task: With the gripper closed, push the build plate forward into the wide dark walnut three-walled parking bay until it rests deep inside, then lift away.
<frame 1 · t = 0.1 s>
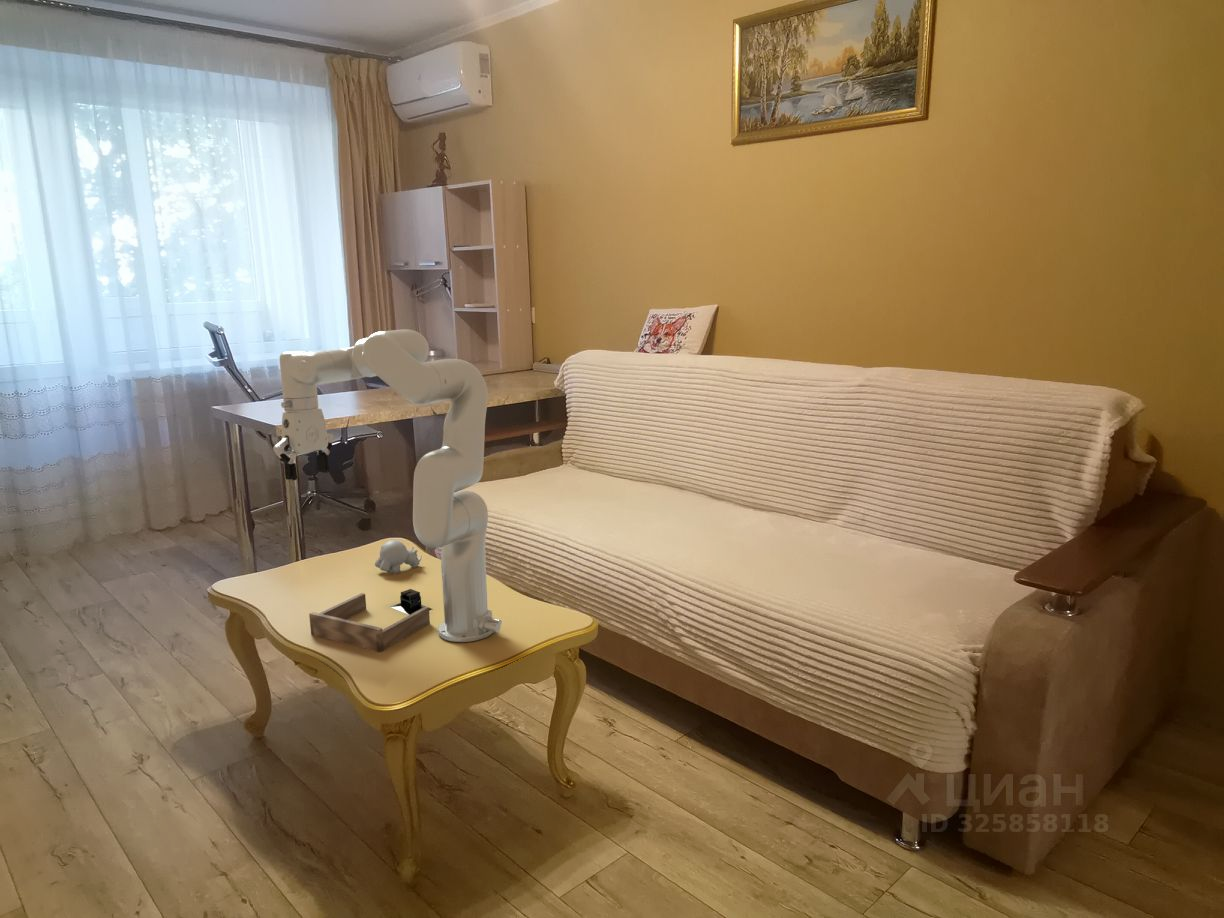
hand: (307, 475, 192), 31 cm above the table, fingers open, 9 cm apart
white animal figurine: (400, 571, 217), on the table
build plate: (411, 610, 192), on the table
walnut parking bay: (372, 628, 180), on the table
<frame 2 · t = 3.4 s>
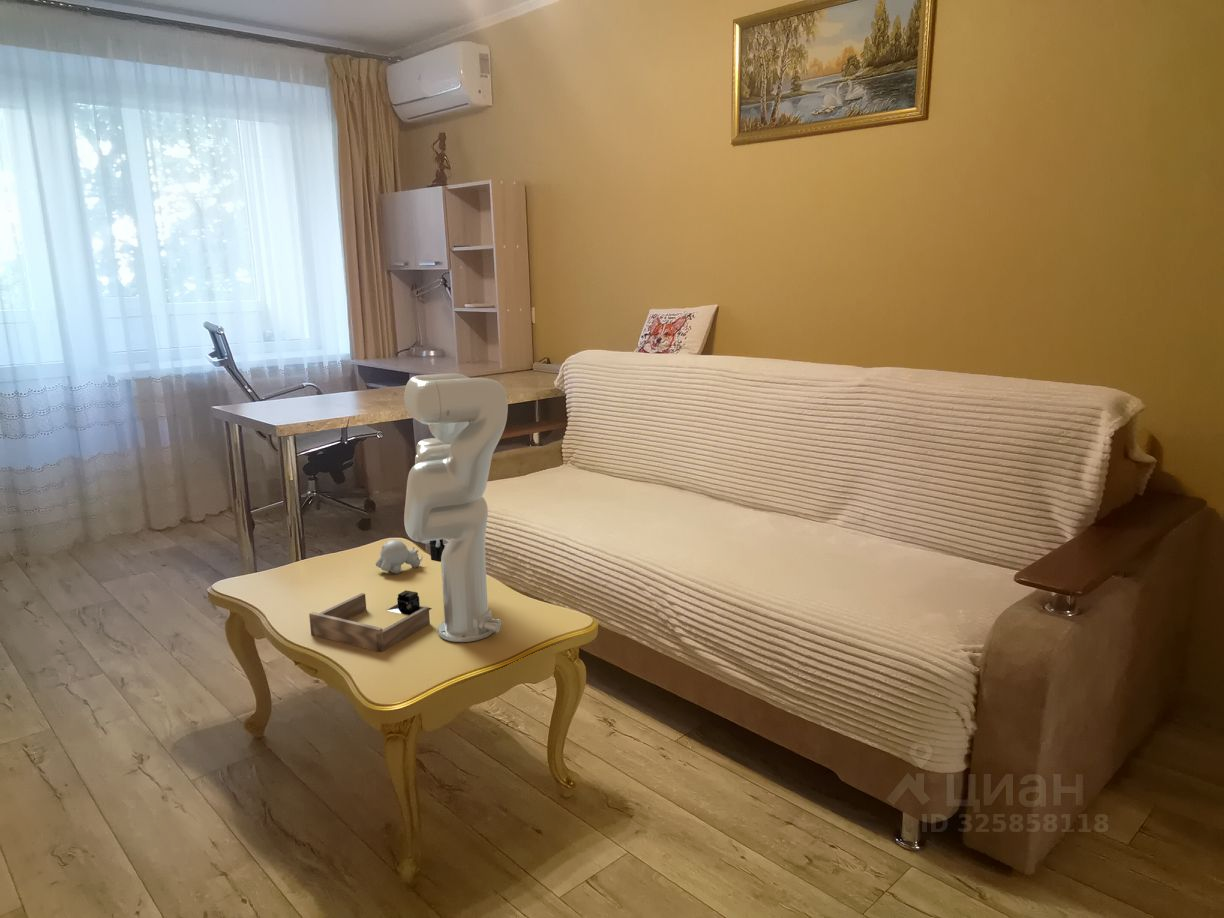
hand: (438, 559, 200), 8 cm above the table, fingers closed
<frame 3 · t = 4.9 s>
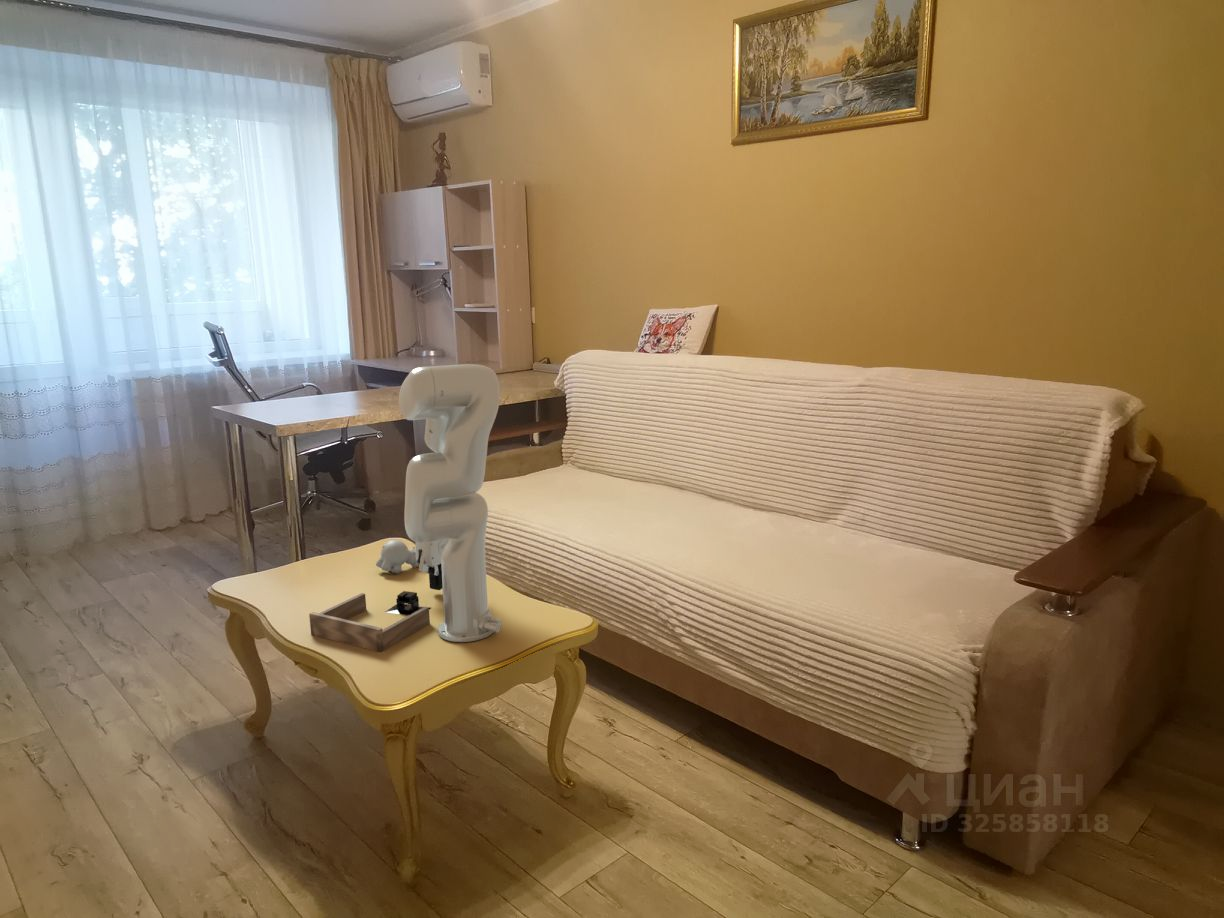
hand: (436, 588, 200), 2 cm above the table, fingers closed
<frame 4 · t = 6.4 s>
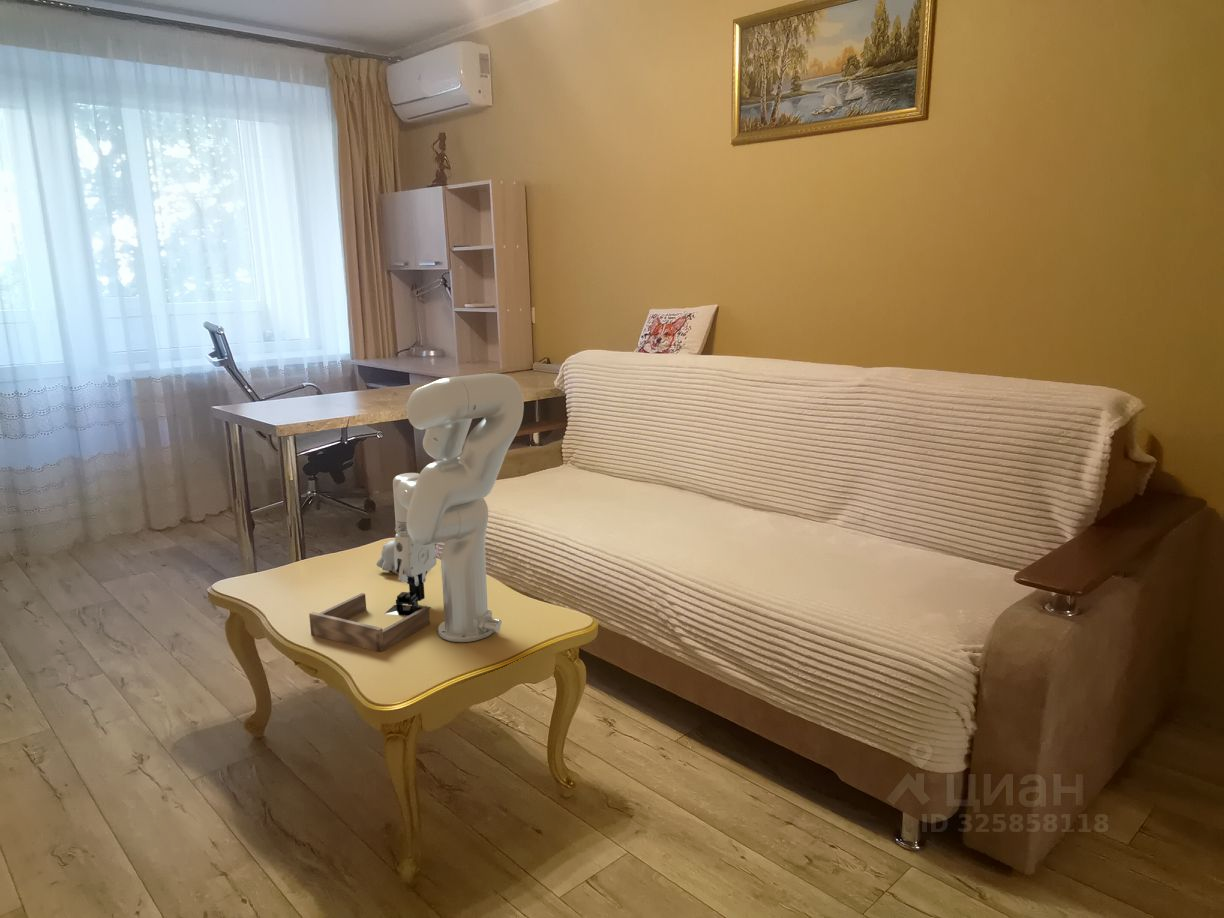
hand: (417, 598, 193), 2 cm above the table, fingers closed
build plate: (407, 613, 190), on the table, touching gripper
everything else where it was.
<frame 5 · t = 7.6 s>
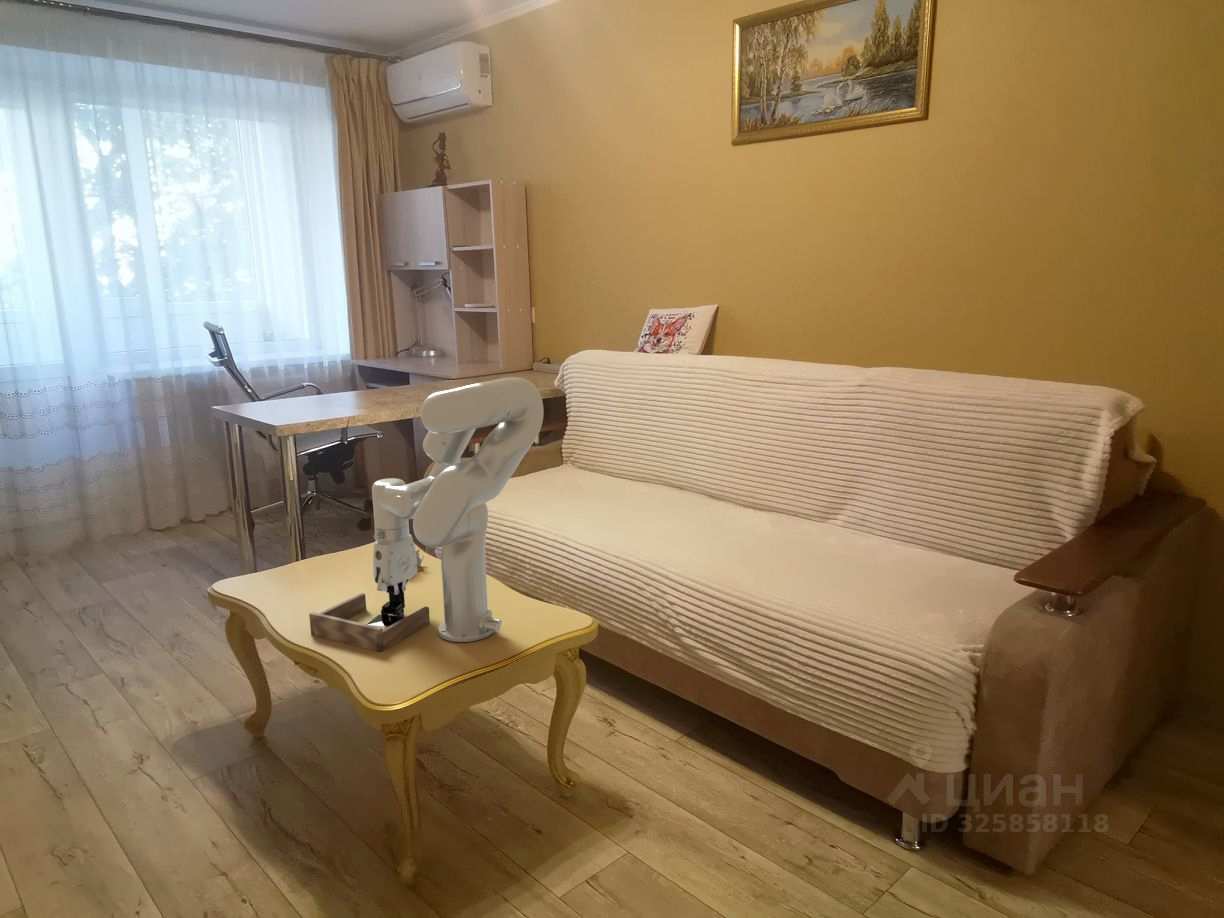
hand: (397, 608, 187), 2 cm above the table, fingers closed
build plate: (393, 623, 184), on the table, touching gripper
everything else where it was.
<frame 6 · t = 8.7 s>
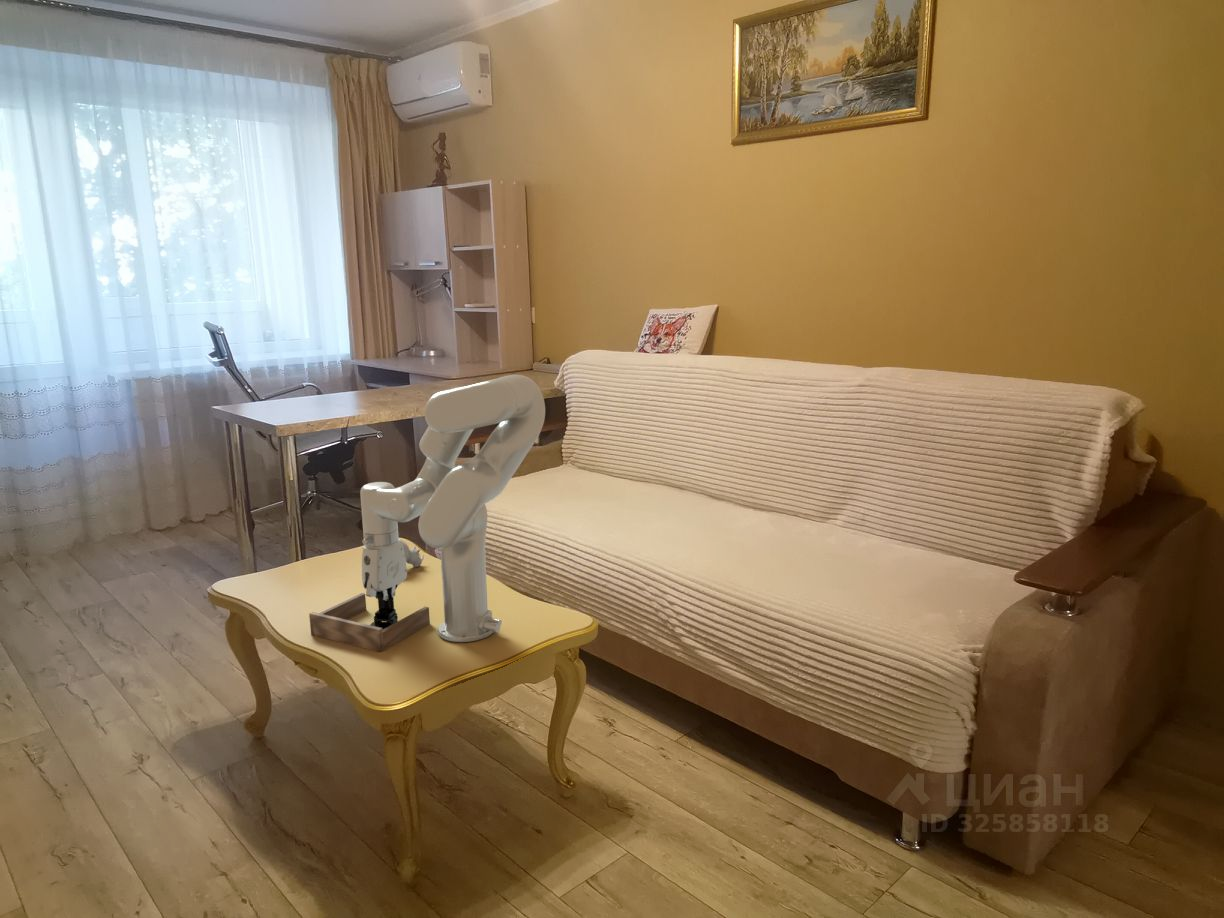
hand: (386, 613, 184), 2 cm above the table, fingers closed
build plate: (386, 630, 181), on the table
everything else where it was.
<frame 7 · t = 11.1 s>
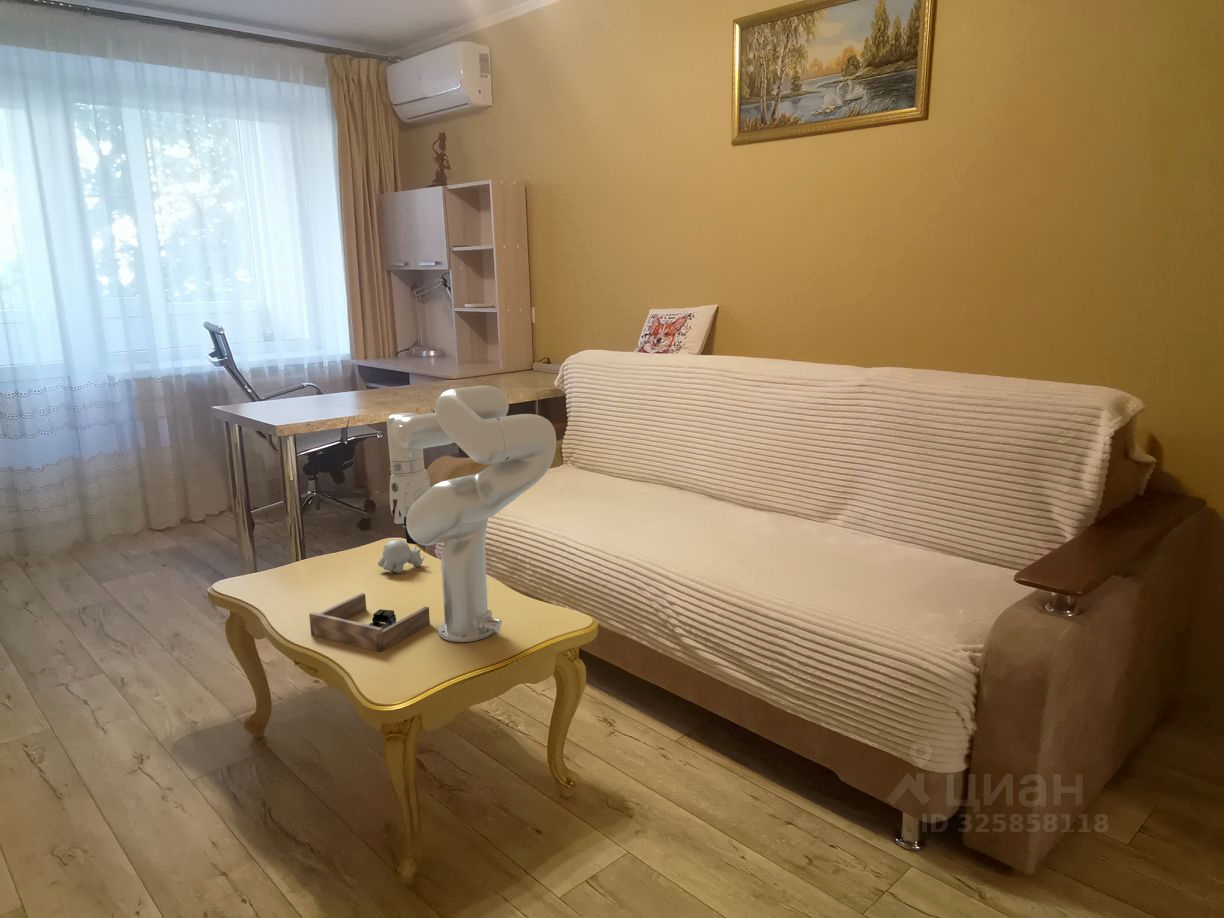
hand: (414, 542, 189), 16 cm above the table, fingers closed
nothing on the table moved.
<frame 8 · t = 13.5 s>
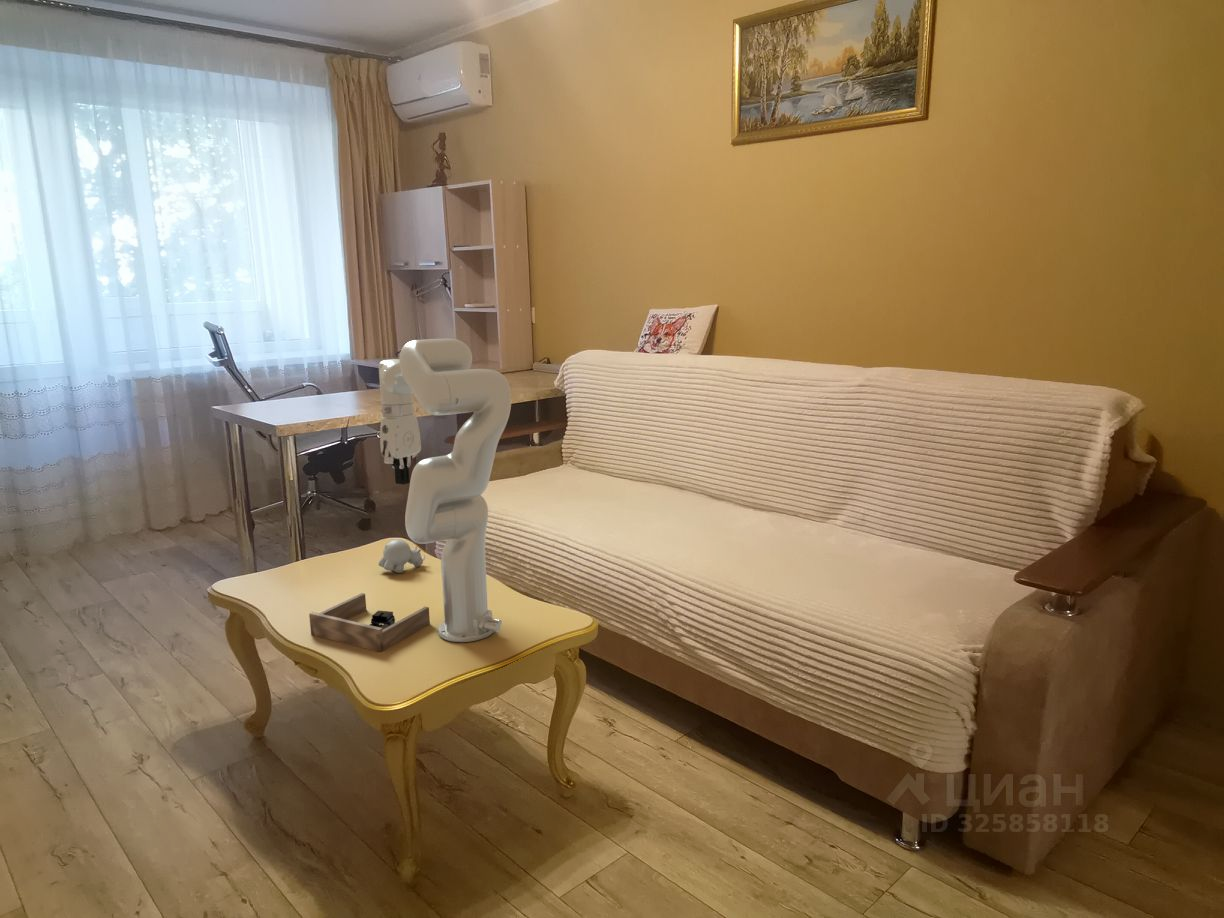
hand: (402, 483, 200), 27 cm above the table, fingers closed
at the end: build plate inside the target area on the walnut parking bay (3.6 cm from its centre), point -0.8 cm above the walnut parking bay's base; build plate tilted 0°; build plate moved 13.1 cm from its start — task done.
